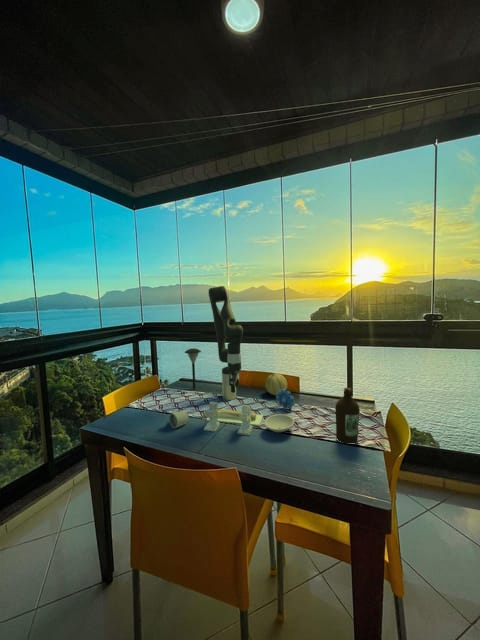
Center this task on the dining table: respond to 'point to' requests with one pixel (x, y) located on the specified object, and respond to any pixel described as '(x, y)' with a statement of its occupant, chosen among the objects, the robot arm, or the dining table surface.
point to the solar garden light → (193, 361)
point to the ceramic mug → (178, 419)
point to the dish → (279, 422)
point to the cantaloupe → (275, 383)
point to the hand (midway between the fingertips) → (235, 389)
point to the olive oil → (347, 418)
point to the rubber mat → (237, 421)
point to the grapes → (285, 399)
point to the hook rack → (214, 423)
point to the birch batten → (233, 414)
